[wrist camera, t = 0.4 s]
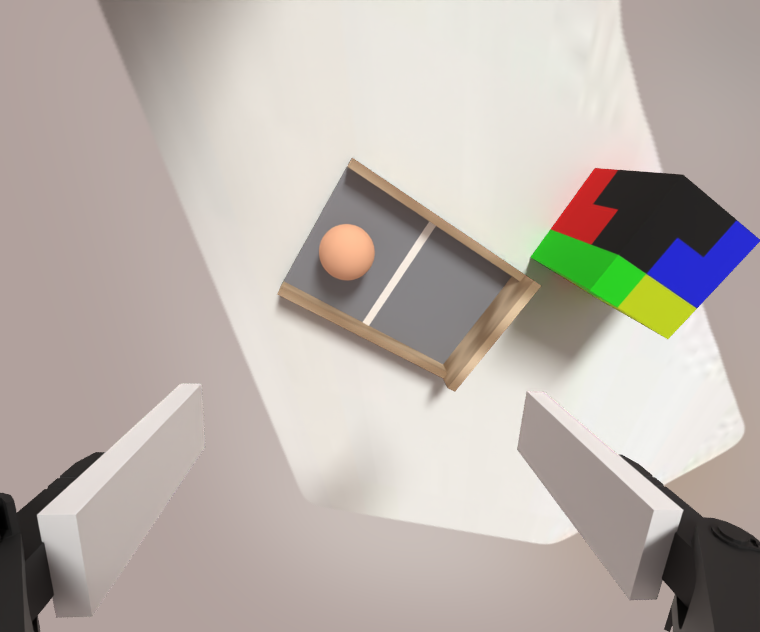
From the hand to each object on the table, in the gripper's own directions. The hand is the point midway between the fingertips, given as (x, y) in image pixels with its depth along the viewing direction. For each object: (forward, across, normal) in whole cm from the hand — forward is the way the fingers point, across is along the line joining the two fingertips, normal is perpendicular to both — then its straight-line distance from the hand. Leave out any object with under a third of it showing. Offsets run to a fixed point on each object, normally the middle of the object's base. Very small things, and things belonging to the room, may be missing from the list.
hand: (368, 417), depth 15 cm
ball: (+20, -1, +5) cm, 21 cm away
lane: (+24, +5, +3) cm, 25 cm away
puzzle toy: (+24, +24, +8) cm, 35 cm away
